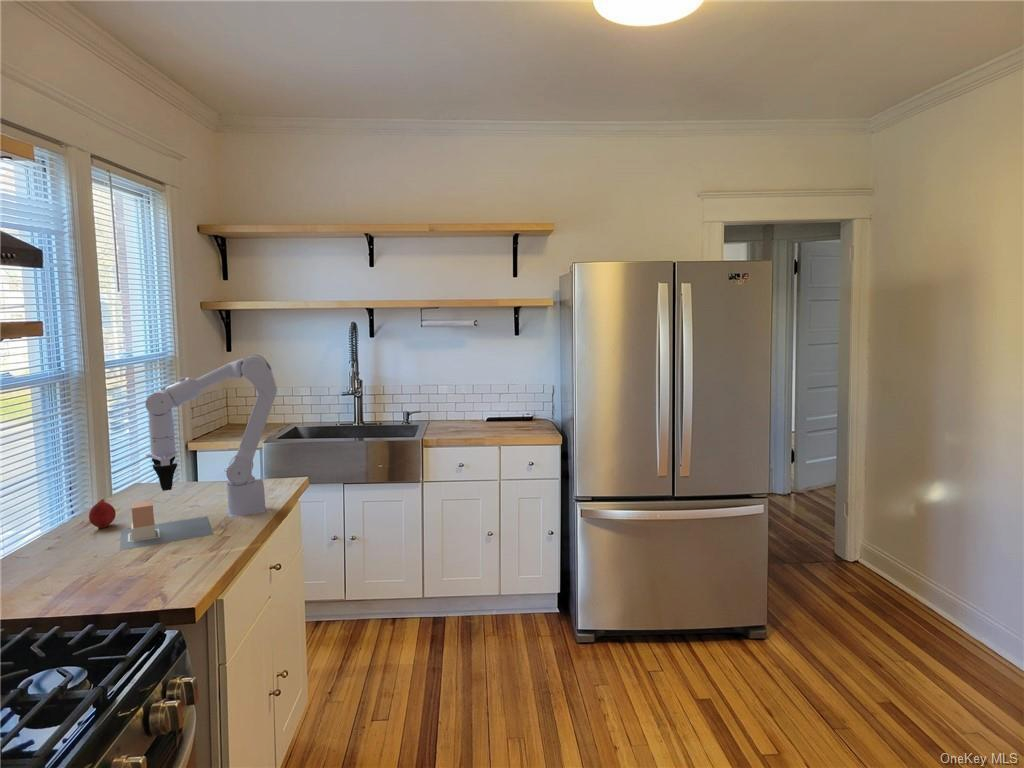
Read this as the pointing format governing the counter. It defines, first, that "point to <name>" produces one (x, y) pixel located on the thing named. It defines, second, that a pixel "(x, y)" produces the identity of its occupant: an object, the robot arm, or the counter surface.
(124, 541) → the board
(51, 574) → the counter surface
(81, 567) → the counter surface
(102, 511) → the onion
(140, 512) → the terracotta block
